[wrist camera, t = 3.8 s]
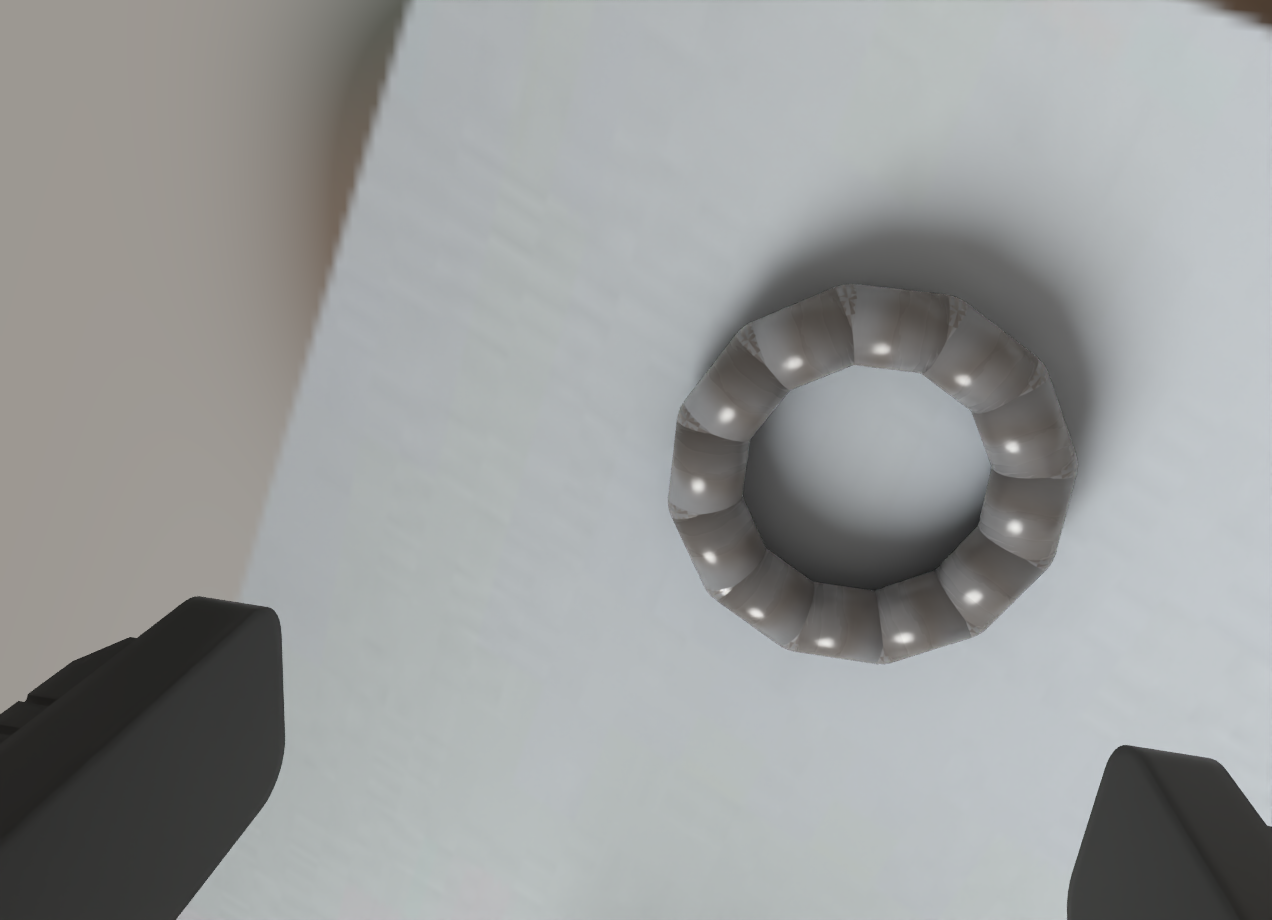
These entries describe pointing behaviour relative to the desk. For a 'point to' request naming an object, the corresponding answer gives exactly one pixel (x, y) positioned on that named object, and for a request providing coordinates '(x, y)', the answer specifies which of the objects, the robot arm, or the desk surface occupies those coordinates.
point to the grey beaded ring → (890, 339)
